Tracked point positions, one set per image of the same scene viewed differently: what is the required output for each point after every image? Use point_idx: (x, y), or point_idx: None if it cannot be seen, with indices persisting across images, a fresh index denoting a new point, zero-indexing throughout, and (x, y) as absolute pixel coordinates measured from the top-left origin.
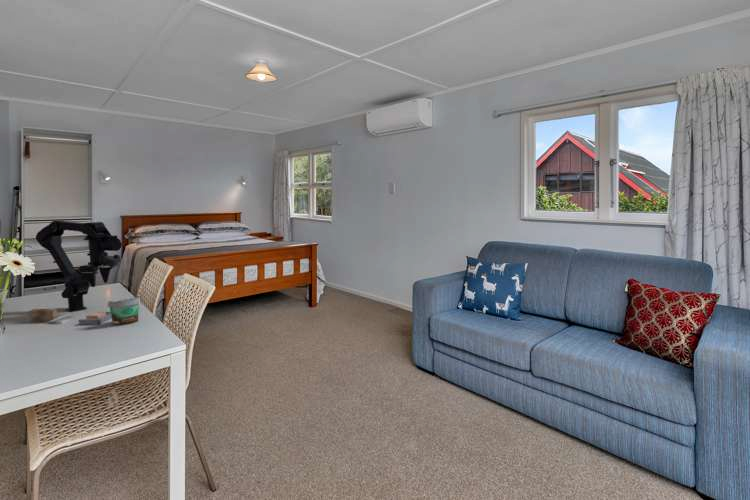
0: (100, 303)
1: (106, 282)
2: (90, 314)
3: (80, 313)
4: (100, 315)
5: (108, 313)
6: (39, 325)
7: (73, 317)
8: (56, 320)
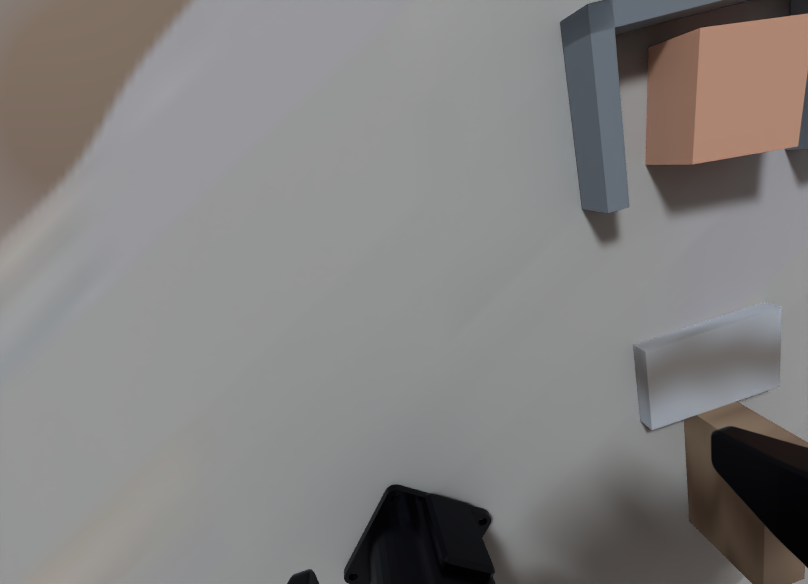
0: (205, 536)
1: (311, 571)
2: (760, 140)
3: (514, 413)
4: (775, 18)
5: (609, 74)
6: (786, 403)
7: (648, 344)
8: (753, 365)
